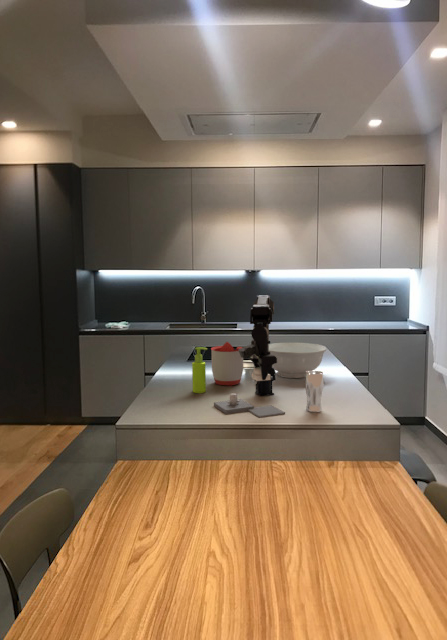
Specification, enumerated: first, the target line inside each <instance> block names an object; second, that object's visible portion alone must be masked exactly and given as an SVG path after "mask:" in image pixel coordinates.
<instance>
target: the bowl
mask: <svg viewBox="0 0 447 640" xmlns="http://www.w3.org/2000/svg"><path fill="white" fill-rule="evenodd" d="M326 350H327V347H325V346H324V345H322V344H317V343H308V342H276V343H270V344H269V351H270V354H272V355H274V356H275V357H276V358H277V363H275V364H273V365H272V367H274V370H275V372H276V371H277V375H278V376H280V377H283V378H290V379H301V378H305V376H306V372H307V371H316V369H317V368H319V367H320V366H321V363H322V361H323V356H324V353H325V352H326ZM270 354H269V355H270Z"/></svg>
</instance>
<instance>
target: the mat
mask: <svg viewBox="0 0 447 640" xmlns="http://www.w3.org/2000/svg"><path fill="white" fill-rule="evenodd" d="M247 412H249V413H250V414H252V415H254V416H255V417H258V418H259V419H260V418H267V417H274V416H280V415H286V412H285V411H283V410H282V409H279V408H277V407H275V406H274V405H272V404H269V405H263V406H262V405H261V406H254V409H248V411H247Z"/></svg>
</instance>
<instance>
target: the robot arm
mask: <svg viewBox="0 0 447 640" xmlns="http://www.w3.org/2000/svg"><path fill="white" fill-rule="evenodd" d="M249 314H250V318H249V325H253V327H252V328H253V329H252V330H251V338H252V339H251V342H250V344H248V345H245V346H242V347H243V348H241V349H239V353H240V356H241V358H243V360H245V359H248V360H249V361H251V362H252V364H253V368H257V367H260V368H261V375H262V380H264V381H256V380H254V381H255V391H254V393H255V394H256V395H259V396H260V397H266V396H273V395H275V392H273V382H274V381H276V370H274V367H272V365H273V364H275V363H277V358H276V357H275V356H274V355H272V354H270V351H269V344H271V341H270V340H269V339H270V325H271V324H272V323H271V322H273V315H274V314H275V302H274V301H273V300H272V299H271V298H270V295H267V294H266V295H263V294H262V295H256V300H255V301H254V302H253V304H252V307H251V308H250V313H249ZM269 354H270V355H269ZM268 374H270V375H271V380H265V379H266V377H267V375H268Z"/></svg>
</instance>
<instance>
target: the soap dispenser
mask: <svg viewBox="0 0 447 640" xmlns="http://www.w3.org/2000/svg"><path fill="white" fill-rule="evenodd" d="M194 350H196V354H194V361H193V362H192V363H191V369H192V370H191V371H192V372H191V373H192V378H191V379H192V393H194V394H203V393H206V391H207V390H206V389H207V386H206V383H207V380H206V378H207V377H206V375H207V373H206V362H205V361H203V354H201V350H204V351H207V350H208V348H207V347H203V346H201V347H200V346H199V347H195V348H194Z"/></svg>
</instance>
